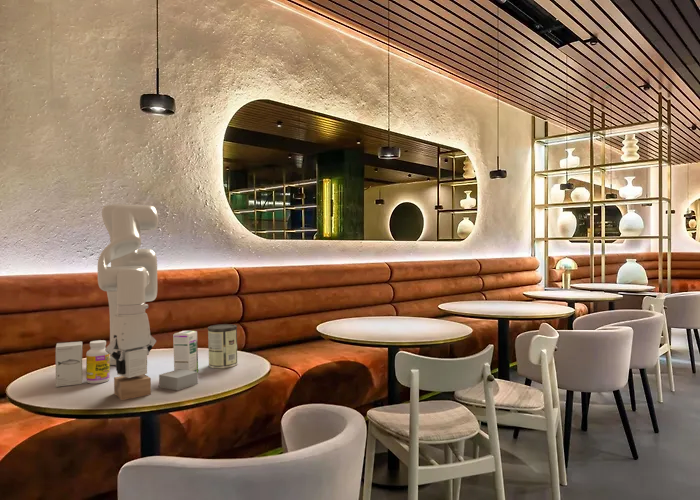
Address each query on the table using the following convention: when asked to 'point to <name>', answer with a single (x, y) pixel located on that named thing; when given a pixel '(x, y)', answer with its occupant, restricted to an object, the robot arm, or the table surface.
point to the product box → (135, 362)
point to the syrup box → (185, 351)
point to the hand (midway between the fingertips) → (132, 370)
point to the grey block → (178, 379)
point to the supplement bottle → (97, 363)
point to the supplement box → (68, 363)
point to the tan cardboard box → (132, 386)
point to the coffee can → (222, 345)
